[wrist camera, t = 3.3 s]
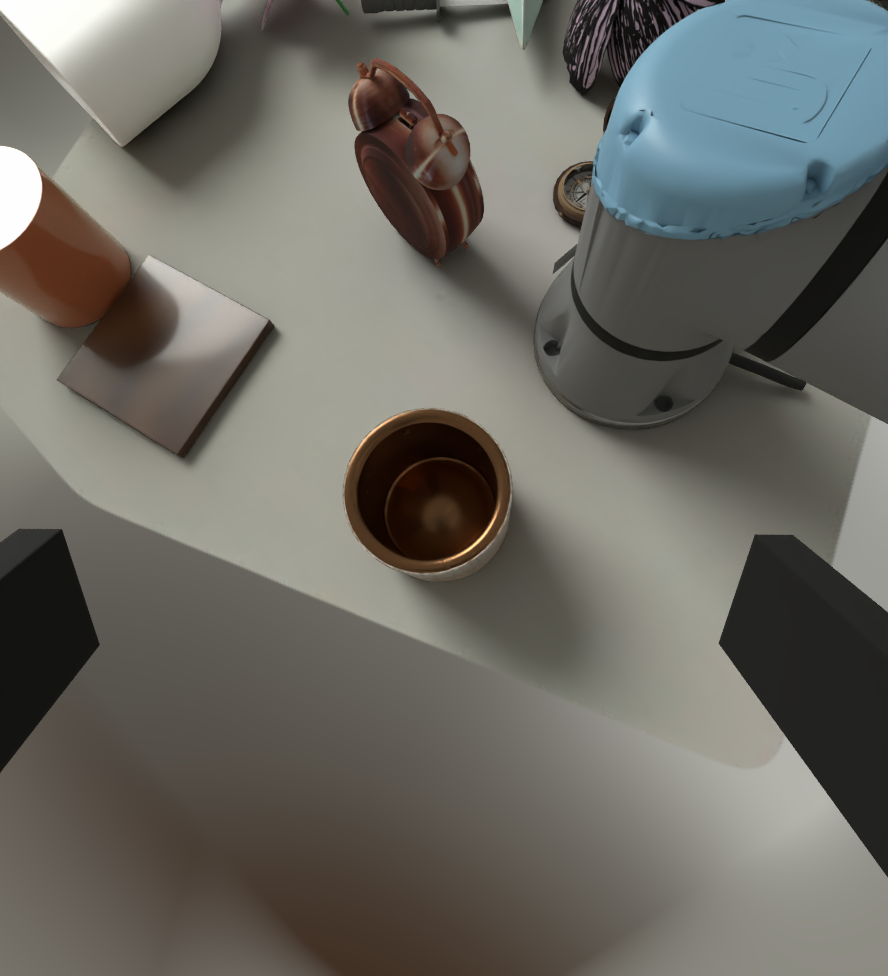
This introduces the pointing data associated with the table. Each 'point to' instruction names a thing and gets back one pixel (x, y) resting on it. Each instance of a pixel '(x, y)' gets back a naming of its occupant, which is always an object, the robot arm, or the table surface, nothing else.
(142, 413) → the brown wooden square plate
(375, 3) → the knife
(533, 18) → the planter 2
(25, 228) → the copper solid cylinder
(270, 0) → the lily
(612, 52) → the decorative flower
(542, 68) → the table surface
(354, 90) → the alarm clock
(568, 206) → the compass
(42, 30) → the bottle
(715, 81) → the robot arm
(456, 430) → the planter
